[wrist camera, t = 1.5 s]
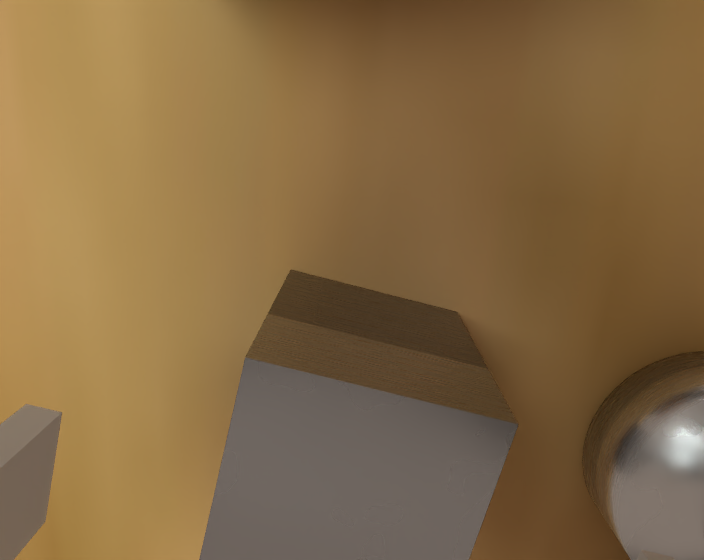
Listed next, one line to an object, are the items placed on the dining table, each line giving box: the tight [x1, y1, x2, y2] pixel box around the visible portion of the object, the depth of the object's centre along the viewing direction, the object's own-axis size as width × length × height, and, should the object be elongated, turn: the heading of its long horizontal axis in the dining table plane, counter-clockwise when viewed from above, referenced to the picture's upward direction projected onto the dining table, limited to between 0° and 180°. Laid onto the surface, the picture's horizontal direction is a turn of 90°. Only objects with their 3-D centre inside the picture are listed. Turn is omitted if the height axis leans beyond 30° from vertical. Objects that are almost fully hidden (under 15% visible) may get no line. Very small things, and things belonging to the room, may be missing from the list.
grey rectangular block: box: [199, 270, 518, 560], centre depth 17 cm, size 6×6×8 cm
